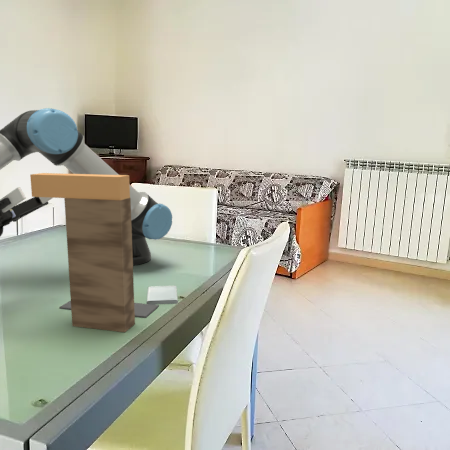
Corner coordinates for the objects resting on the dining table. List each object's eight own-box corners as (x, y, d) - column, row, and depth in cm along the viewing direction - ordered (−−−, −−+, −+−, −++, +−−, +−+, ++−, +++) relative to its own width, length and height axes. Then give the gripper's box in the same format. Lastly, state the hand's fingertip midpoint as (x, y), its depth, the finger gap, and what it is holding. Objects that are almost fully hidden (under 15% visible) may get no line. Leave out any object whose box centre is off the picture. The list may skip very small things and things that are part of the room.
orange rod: (44, 194, 110) (42, 173, 109) (129, 197, 104) (129, 175, 103) (31, 196, 105) (30, 174, 104) (120, 200, 100) (119, 176, 99)
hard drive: (177, 299, 123) (176, 284, 135) (146, 300, 122) (147, 285, 134) (177, 305, 124) (176, 290, 136) (146, 306, 122) (148, 291, 135)
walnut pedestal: (84, 318, 113) (77, 195, 108) (134, 323, 110) (130, 197, 104) (72, 326, 109) (64, 198, 103) (125, 332, 105) (120, 200, 100)
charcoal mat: (76, 298, 127) (76, 296, 127) (158, 306, 121) (158, 305, 121) (59, 308, 119) (59, 307, 119) (145, 318, 113) (145, 316, 113)
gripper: (22, 234, 125) (80, 196, 118) (-55, 257, 101) (12, 212, 95) (8, 209, 125) (65, 170, 118) (-73, 227, 101) (-7, 179, 94)
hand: (42, 189), depth 106 cm, fingers open, 13 cm apart
